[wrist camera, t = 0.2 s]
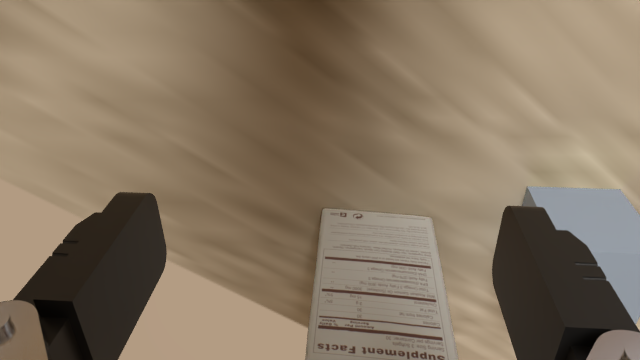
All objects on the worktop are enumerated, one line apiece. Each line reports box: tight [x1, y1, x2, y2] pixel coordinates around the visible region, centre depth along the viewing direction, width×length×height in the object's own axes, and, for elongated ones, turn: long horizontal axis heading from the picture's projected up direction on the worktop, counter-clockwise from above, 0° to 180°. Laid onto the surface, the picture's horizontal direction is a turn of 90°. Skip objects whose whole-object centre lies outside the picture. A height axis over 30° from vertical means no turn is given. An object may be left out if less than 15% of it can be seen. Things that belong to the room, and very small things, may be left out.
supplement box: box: [305, 208, 459, 360], centre depth 29 cm, size 7×7×13 cm
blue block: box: [522, 187, 640, 325], centre depth 30 cm, size 6×6×6 cm
